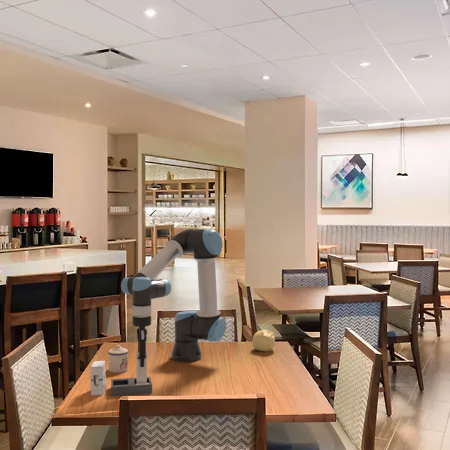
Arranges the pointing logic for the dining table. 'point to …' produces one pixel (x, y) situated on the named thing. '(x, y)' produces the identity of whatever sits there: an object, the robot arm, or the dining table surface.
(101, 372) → the ink box
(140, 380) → the plug
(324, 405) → the dining table surface
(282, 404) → the dining table surface
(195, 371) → the dining table surface
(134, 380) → the console
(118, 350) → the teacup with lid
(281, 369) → the dining table surface
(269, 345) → the pale yellow rounded lump
